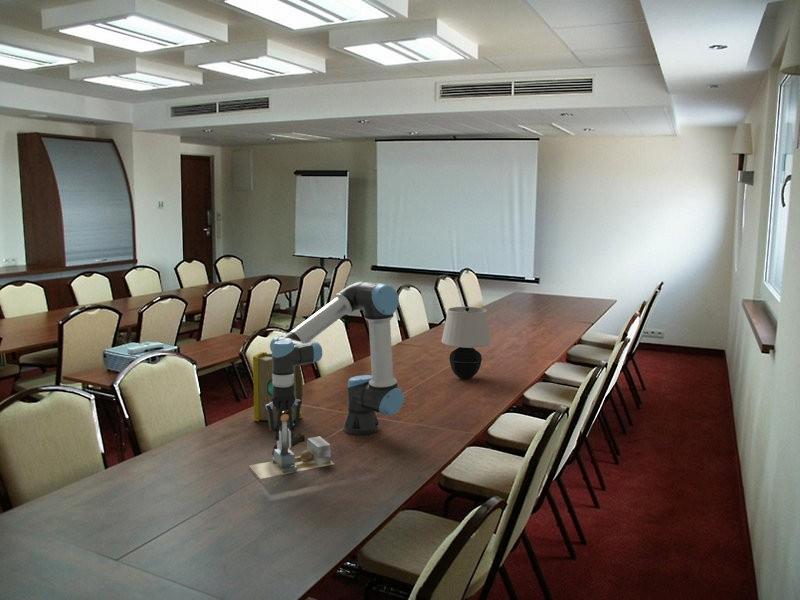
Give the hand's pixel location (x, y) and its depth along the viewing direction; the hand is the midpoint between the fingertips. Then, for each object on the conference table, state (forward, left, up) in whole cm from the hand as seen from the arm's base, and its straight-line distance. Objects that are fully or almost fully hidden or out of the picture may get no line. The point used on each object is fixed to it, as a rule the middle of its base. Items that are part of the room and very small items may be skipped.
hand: (284, 447), depth 240 cm
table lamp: (-131, -72, -9) cm, 150 cm away
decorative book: (-17, -54, -9) cm, 57 cm away
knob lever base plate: (-3, 0, -9) cm, 9 cm away
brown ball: (-8, 0, -7) cm, 11 cm away
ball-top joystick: (0, 0, -7) cm, 7 cm away
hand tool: (-8, -18, -9) cm, 21 cm away
